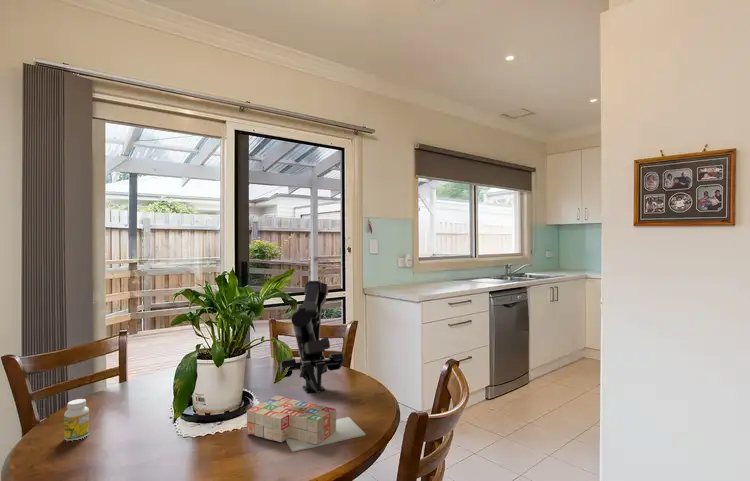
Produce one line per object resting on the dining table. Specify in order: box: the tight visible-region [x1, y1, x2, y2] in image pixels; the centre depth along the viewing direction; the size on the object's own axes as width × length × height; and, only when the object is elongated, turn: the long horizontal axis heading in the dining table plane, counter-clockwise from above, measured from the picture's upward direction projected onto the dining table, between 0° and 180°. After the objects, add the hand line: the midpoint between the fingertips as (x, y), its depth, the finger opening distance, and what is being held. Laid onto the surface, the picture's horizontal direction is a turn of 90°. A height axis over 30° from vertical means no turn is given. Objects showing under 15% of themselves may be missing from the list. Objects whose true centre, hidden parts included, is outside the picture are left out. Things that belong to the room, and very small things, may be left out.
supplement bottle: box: [63, 398, 90, 441], centre depth 108 cm, size 5×5×10 cm
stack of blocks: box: [246, 395, 337, 445], centre depth 110 cm, size 21×6×12 cm
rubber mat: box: [285, 416, 367, 453], centre depth 109 cm, size 12×20×1 cm, turn 116°
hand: (318, 391), depth 113 cm, fingers closed
